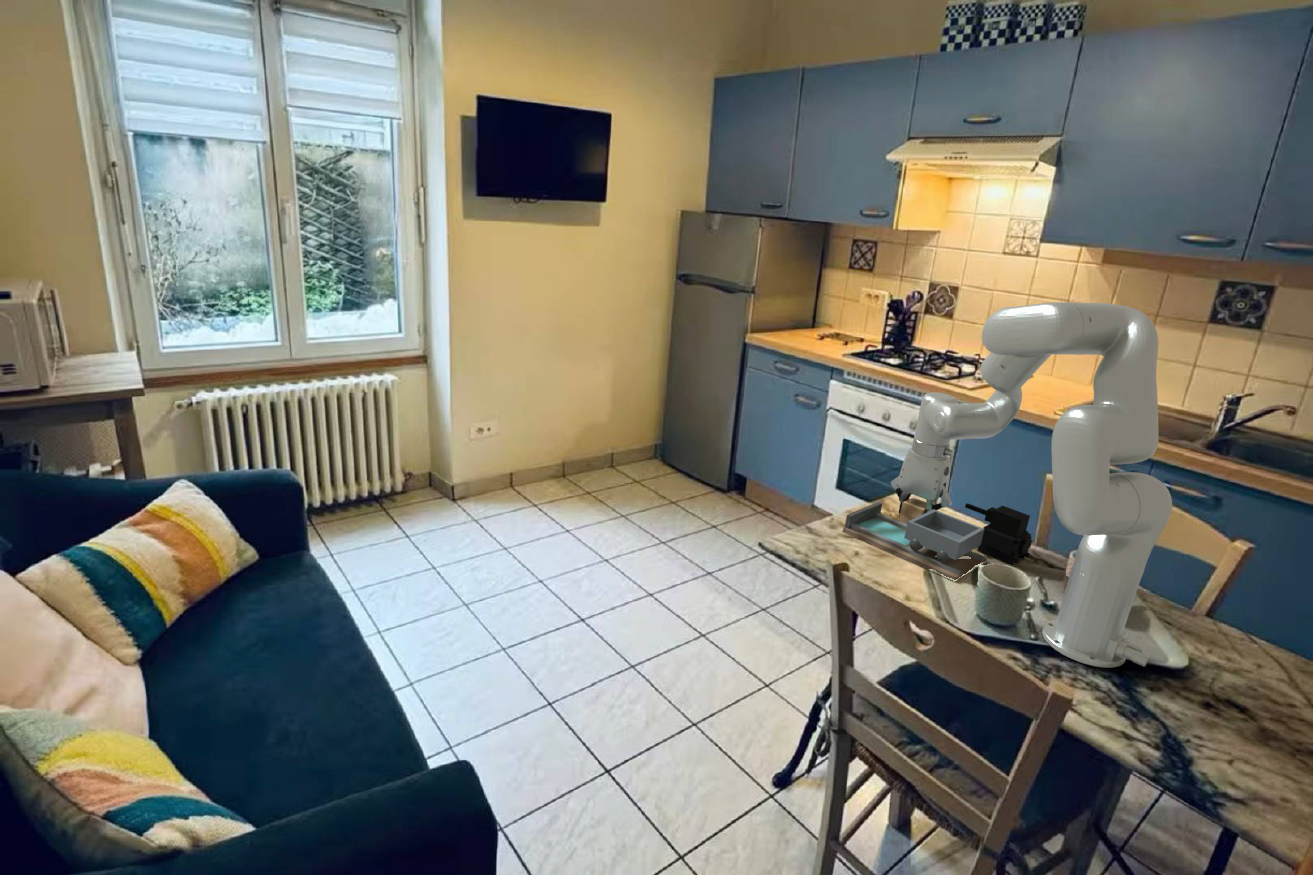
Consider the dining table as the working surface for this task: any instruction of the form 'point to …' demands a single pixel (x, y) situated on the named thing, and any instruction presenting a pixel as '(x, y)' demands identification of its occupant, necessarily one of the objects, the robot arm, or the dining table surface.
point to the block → (912, 509)
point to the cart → (943, 535)
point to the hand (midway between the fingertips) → (914, 521)
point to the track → (902, 542)
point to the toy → (1004, 534)
